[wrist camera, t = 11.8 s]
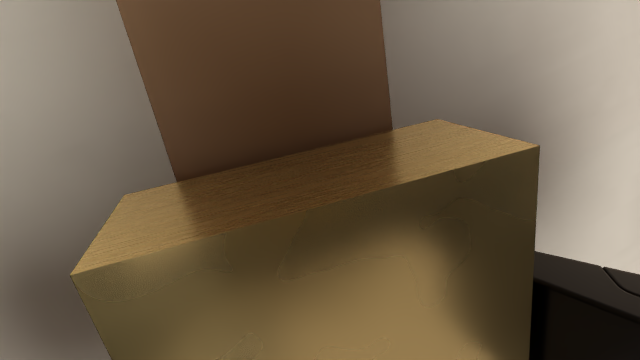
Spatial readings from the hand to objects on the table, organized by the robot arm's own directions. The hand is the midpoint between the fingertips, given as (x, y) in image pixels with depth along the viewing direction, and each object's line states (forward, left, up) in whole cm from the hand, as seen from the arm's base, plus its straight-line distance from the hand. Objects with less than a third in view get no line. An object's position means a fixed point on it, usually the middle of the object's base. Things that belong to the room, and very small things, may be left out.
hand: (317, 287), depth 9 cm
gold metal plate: (0, 0, +1) cm, 1 cm away
